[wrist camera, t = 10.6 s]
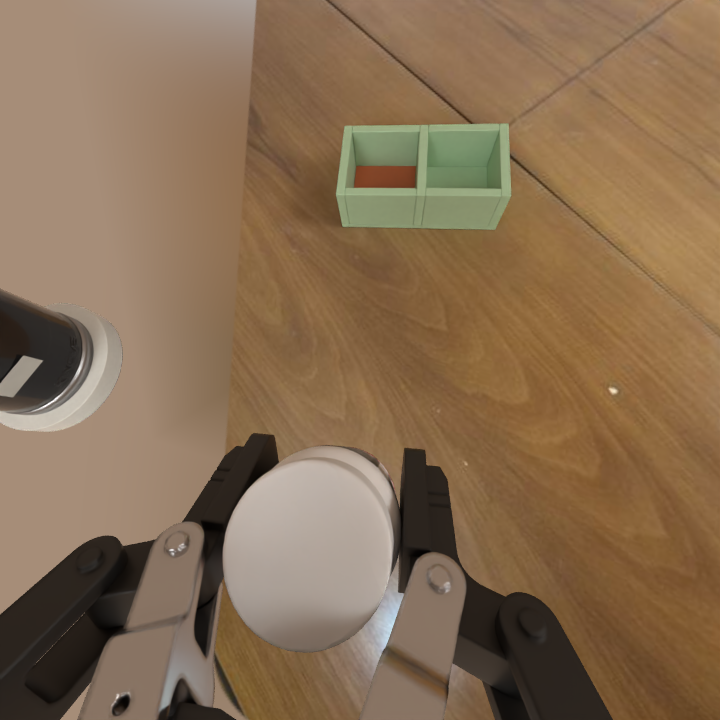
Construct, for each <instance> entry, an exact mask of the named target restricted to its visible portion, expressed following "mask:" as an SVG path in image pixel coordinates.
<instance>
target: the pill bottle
mask: <svg viewBox="0 0 720 720" xmlns="http://www.w3.org/2000/svg"><path fill="white" fill-rule="evenodd" d="M400 545H401V514H400V508H399V504H398V501H397V498H396V493H395V488H394V484H393V482H392V479H391V477H390V475H389V473H388V472H387V470H386V469H385V467H384V466H383V465H382V464H381V462H380V461H379V460H378V459H376V458H375V457H374V456H373V455H371V454H369V453H368V452H366V451H363V450H361V449H357V448H353V447H344V446H330V445H323V446H315V447H311V448H307V449H304V450H301V451H298V452H296V453H294V454H292V455H290V456H288V457H286V458H285V459H284V460H282V461H281V462H279V463H278V464H277V465H276V466H275V467H273V468H272V469H271V470H270V471H268V472H267V473H265V474H264V475H263V476H261V477H260V478H259V479H257V480H256V481H255V482H254V483H253V484H252V485H251V486H250V487H249V489H248V490H247V491H246V492H245V493H244V495H243V496H242V498H241V499H240V500H239V502H238V504H237V506H236V507H235V509H234V511H233V513H232V516H231V518H230V520H229V523H228V526H227V529H226V533H225V539H224V545H223V573H224V580H225V584H226V588H227V591H228V594H229V596H230V599H231V601H232V604H233V606H234V608H235V609H236V611H237V613H238V614H239V616H240V618H241V619H242V620H243V621H244V623H245V624H246V625H247V626H248V627H249V628H250V629H251V630H252V631H253V632H254V633H255V634H256V635H257V636H258V637H260V638H261V639H263V640H265V641H266V642H268V643H270V644H271V645H274V646H276V647H279V648H281V649H285V650H287V651H295V652H305V653H306V652H317V651H322V650H326V649H329V648H332V647H334V646H337V645H339V644H341V643H343V642H344V641H346V640H348V639H349V638H351V637H352V636H354V635H355V634H356V633H357V632H358V631H359V630H361V629H362V627H363V626H364V625H365V624H366V623H367V622H368V621H369V620H370V618H371V617H372V615H373V614H374V613H375V611H376V610H377V608H378V606H379V605H380V602H381V600H382V598H383V596H384V593H385V591H386V588H387V585H388V581H389V577H390V576H391V574H392V571H393V569H394V567H395V564H396V561H397V558H398V555H399V550H400Z"/></svg>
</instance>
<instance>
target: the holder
mask: <svg viewBox="0 0 720 720" xmlns="http://www.w3.org/2000/svg"><path fill="white" fill-rule="evenodd" d="M510 197H511V179H510V152H509V126H508V123H505V124H438V125H429V126H428V125H373V126H345V127H344V134H343V142H342V150H341V158H340V166H339V174H338V181H337V189H336V198H337V202H338V207H339V212H340V217H341V222H342V227H380V228H431V229H483V230H495V229H496V227H497V225H498V222H499V220H500V218H501V216H502V214H503V212H504V210H505V208H506V206H507V204H508V202H509V200H510Z"/></svg>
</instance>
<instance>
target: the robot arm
mask: <svg viewBox="0 0 720 720" xmlns="http://www.w3.org/2000/svg"><path fill="white" fill-rule="evenodd" d="M93 353H94V348H93V341H92V338H91V335H90V333H89V331H88V330H87V328H86V327H85V326H84V325H83V324H82V323H81V322H80V321H78V320H76V319H74V318H72V317H70V316H67V315H65V314H62V313H59V312H55V311H52V310H50V309H47V308H45V307H42V306H40V305H38V304H35V303H33V302H31V301H29V300H26V299H24V298H21V297H19V296H17V295H14V294H12V293H9V292H7V291H4V290H2V289H0V411H2V412H6V413H10V414H19V415H39V414H43V413H47V412H49V411H52V410H54V409H56V408H58V407H59V406H61V405H62V404H64V403H65V402H67V401H68V400H69V399H70V398H71V397H72V396H73V395H74V394H75V393H76V392H77V391H78V390H79V388H80V387H81V386H82V384H83V383H84V381H85V379H86V378H87V376H88V373H89V371H90V368H91V365H92V361H93ZM278 463H279V460H278V454H277V448H276V442H275V437H274V435H268V434H258V433H253V434H252V435H251V436H250V437H249V439H248V441H247V442H246V444H245V446H244V447H241V446H236V447H235V448H234V449H233V450H231V451H230V452H229V453H228V454H227V455H225V456H224V458H223V460H222V461H221V463H220V464H219V466H218V467H217V470H216V471H215V472H214V474H213V475H212V477H211V480H210V481H208V483H207V484H206V486H205V488H204V489H203V491H202V492H201V494H200V496H199V497H198V499H197V500H196V502H195V503H194V505H193V506H192V508H191V509H190V511H189V513H188V514H187V516H186V517H185V519H184V520H183V521H182V522H181V523H178V524H175V525H173V526H171V527H169V528H168V529H166V530H165V531H164V532H162V533H161V534H160V535H159V536H158V538H157V539H156V540H152V541H147V542H142V543H137V544H132V545H127V546H122V544H121V543H120V541H119V540H118V539H117V538H116V537H113V536H101V537H97V538H94V539H92V540H89V541H88V542H86V543H84V544H82V545H81V546H80V547H78V548H77V549H76V550H74V551H73V552H72V553H71V554H70V555H68V556H67V557H66V558H65V559H64V560H63V561H62V562H60V563H59V564H58V565H57V566H56V567H55V568H53V569H52V570H51V571H50V572H49V573H48V574H47V575H45V576H44V577H43V578H42V579H41V580H40V581H39V582H37V583H36V584H35V585H34V586H33V587H32V588H31V589H29V590H28V591H27V592H26V593H25V594H23V596H21V597H20V598H19V599H18V600H17V601H15V602H14V603H13V604H12V605H11V606H10V607H8V608H7V609H6V610H5V611H4V612H3V613H2V614H1V615H0V720H60V719H61V718H62V717H63V715H64V714H65V713H66V712H67V710H68V709H69V708H70V707H71V706H72V704H73V703H74V702H75V701H76V700H77V698H78V697H79V696H80V695H81V693H82V692H83V691H84V690H85V688H86V687H87V686H88V685H89V684H90V682H91V684H90V686H89V689H88V692H87V695H86V697H85V700H84V703H83V706H82V708H81V711H80V714H79V716H78V719H77V720H236V719H234V718H233V717H231V716H230V715H228V714H227V713H225V712H224V711H223V710H221V709H218V708H213V702H214V689H215V679H214V666H213V664H214V652H215V644H216V636H217V629H218V621H219V613H220V606H221V598H222V590H223V583H222V580H223V577H224V573H223V545H224V539H225V533H226V529H227V526H228V523H229V520H230V518H231V516H232V513H233V511H234V509H235V507H236V506H237V504H238V502H239V500H240V499H241V498H242V496H243V495H244V493H245V492H246V491H247V490H248V489H249V487H250V486H251V485H252V484H253V483H254V482H255V481H256V480H257V479H259V478H260V477H261V476H263V475H264V474H265V473H267V472H268V471H270V470H271V469H272V468H273V467H275V466H276V465H277V464H278ZM400 514H401V545H400V550H399V580H398V592H399V593H404V596H403V599H402V602H401V605H400V608H399V611H398V614H397V617H396V620H395V623H394V626H393V629H392V632H391V635H390V638H389V640H388V643H387V645H386V648H385V649H384V650H383V652H382V655H381V657H380V660H379V662H378V665H377V668H376V671H375V673H374V676H373V679H372V682H371V685H370V688H369V691H368V694H367V697H366V700H365V702H364V705H363V708H362V711H361V714H360V717H359V720H444V715H445V710H446V704H447V698H448V689H449V688H448V685H449V678H450V673H451V667H452V663H453V664H455V665H457V666H458V667H460V668H462V669H463V670H465V671H467V672H468V673H470V674H472V675H474V676H475V677H477V678H479V679H480V680H482V682H483V685H484V688H485V691H486V694H487V697H488V700H489V703H490V706H491V709H492V711H493V714H494V717H495V720H613V719H612V717H611V715H610V714H609V712H608V710H607V708H606V706H605V705H604V703H603V701H602V699H601V697H600V695H599V694H598V692H597V690H596V688H595V686H594V685H593V683H592V681H591V679H590V677H589V676H588V674H587V672H586V670H585V668H584V666H583V665H582V663H581V661H580V659H579V657H578V656H577V654H576V652H575V650H574V648H573V647H572V645H571V643H570V641H569V639H568V638H567V636H566V634H565V632H564V630H563V628H562V627H561V625H560V623H559V621H558V620H557V618H556V616H555V615H554V613H553V612H552V611H551V610H550V609H549V608H548V607H547V606H546V605H545V604H544V603H543V602H542V601H541V600H539V599H538V598H536V597H534V596H532V595H530V594H527V593H522V592H515V593H511V594H509V595H507V596H506V597H505V596H503V595H501V594H499V593H496V592H494V591H492V590H490V589H488V588H486V587H484V586H482V585H480V584H479V583H477V582H476V581H475V580H473V579H472V578H471V577H470V576H469V575H468V574H467V573H466V571H465V570H464V568H463V567H462V565H461V563H460V561H459V558H458V555H457V549H456V541H455V533H454V526H453V518H452V511H451V503H450V496H449V488H448V481H447V478H446V476H445V475H444V473H443V471H442V470H441V468H440V467H438V466H428V465H426V454H425V450H422V449H412V448H404V455H403V465H402V474H401V488H400ZM82 615H83V616H82ZM78 619H79V620H78ZM77 620H78V621H77ZM76 621H77V622H76ZM75 622H76V623H75ZM74 623H75V624H74ZM73 624H74V625H73ZM72 625H73V626H72ZM71 626H72V627H71ZM70 627H71V628H70ZM69 628H70V629H69ZM68 629H69V630H68ZM67 630H68V631H67ZM66 631H67V632H66ZM65 632H66V633H65ZM64 633H65V634H64ZM63 634H64V635H63ZM62 635H63V636H62ZM61 636H62V637H61ZM52 645H53V646H52ZM50 648H51V649H50ZM49 649H50V650H49ZM48 650H49V651H48ZM47 651H48V652H47ZM46 652H47V653H46ZM45 653H46V654H45ZM44 654H45V655H44ZM43 655H44V656H43ZM42 656H43V657H42ZM41 657H42V658H41ZM40 658H41V659H40ZM39 659H40V660H39ZM38 660H39V661H38ZM37 661H38V662H37ZM36 662H37V663H36Z"/></svg>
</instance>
